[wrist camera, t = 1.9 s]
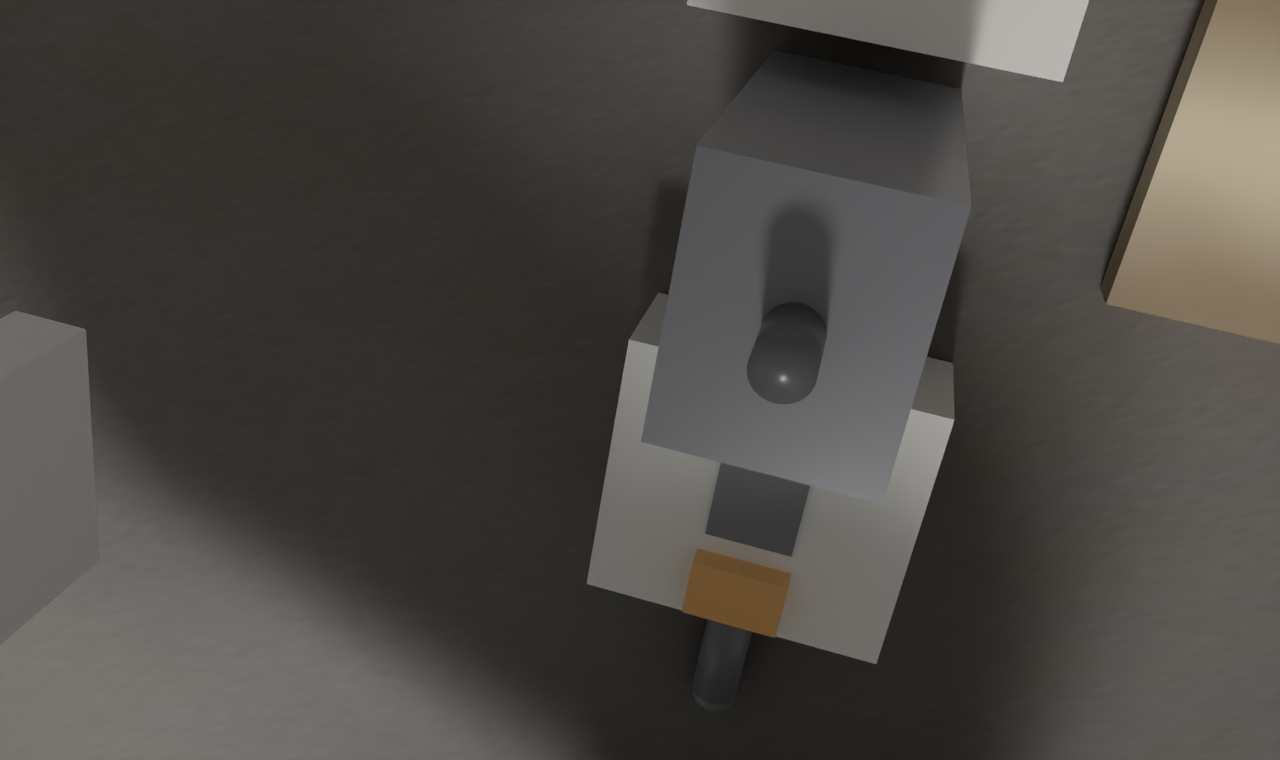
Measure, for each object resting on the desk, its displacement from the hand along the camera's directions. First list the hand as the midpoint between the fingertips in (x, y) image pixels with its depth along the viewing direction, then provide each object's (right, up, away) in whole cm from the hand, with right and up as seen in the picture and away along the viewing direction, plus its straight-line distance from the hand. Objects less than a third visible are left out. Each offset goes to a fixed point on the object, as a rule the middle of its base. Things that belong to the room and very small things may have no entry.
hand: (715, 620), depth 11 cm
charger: (+4, +7, +15) cm, 17 cm away
